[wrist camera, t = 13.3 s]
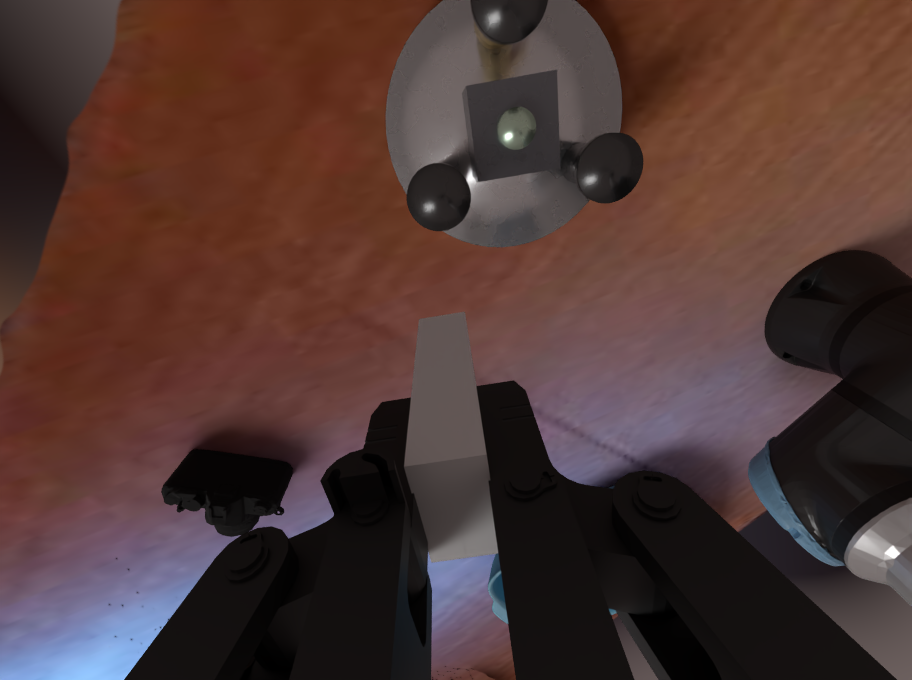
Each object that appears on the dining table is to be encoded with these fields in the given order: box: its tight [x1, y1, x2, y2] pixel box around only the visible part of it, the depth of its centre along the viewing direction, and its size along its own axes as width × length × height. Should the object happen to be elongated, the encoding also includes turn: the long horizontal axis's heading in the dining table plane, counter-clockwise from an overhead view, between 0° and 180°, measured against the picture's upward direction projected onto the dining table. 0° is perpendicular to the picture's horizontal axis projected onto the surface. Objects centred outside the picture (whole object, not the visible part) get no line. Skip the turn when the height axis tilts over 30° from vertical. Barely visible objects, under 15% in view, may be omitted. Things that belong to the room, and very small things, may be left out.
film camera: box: [161, 449, 293, 537], centre depth 54 cm, size 15×10×9 cm, turn 76°
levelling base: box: [386, 0, 643, 247], centre depth 35 cm, size 22×22×10 cm
